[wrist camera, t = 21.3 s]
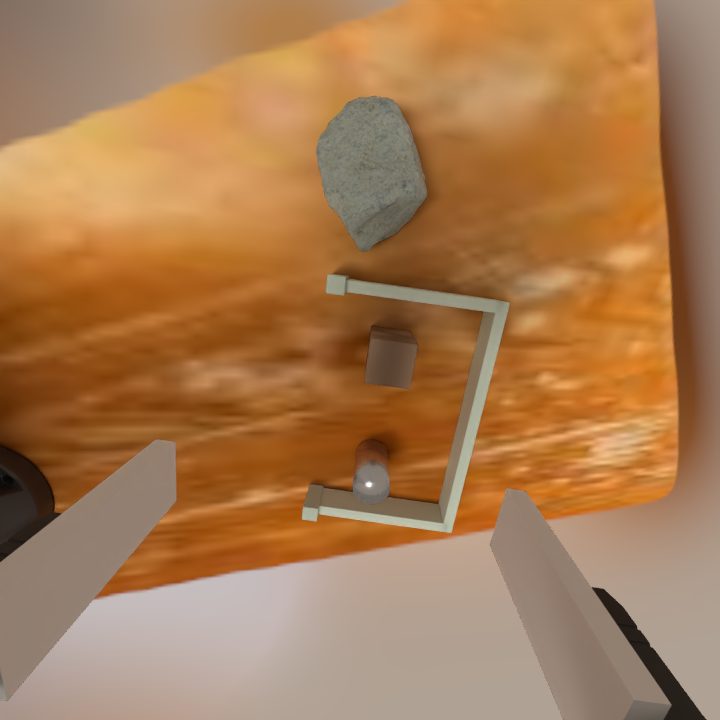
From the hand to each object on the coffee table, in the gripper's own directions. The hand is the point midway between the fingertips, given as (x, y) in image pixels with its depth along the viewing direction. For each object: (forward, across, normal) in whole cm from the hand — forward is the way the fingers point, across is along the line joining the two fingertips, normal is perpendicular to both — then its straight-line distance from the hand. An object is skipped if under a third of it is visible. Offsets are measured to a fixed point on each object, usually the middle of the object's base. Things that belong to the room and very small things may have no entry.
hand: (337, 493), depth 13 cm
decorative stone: (+27, -1, +17) cm, 32 cm away
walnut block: (+27, +3, 0) cm, 27 cm away
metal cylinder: (+27, +3, -14) cm, 30 cm away
